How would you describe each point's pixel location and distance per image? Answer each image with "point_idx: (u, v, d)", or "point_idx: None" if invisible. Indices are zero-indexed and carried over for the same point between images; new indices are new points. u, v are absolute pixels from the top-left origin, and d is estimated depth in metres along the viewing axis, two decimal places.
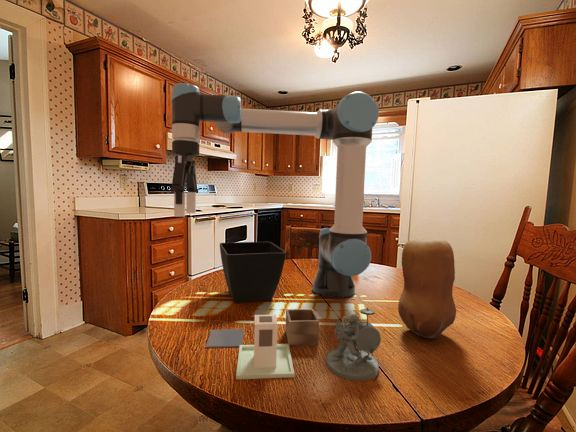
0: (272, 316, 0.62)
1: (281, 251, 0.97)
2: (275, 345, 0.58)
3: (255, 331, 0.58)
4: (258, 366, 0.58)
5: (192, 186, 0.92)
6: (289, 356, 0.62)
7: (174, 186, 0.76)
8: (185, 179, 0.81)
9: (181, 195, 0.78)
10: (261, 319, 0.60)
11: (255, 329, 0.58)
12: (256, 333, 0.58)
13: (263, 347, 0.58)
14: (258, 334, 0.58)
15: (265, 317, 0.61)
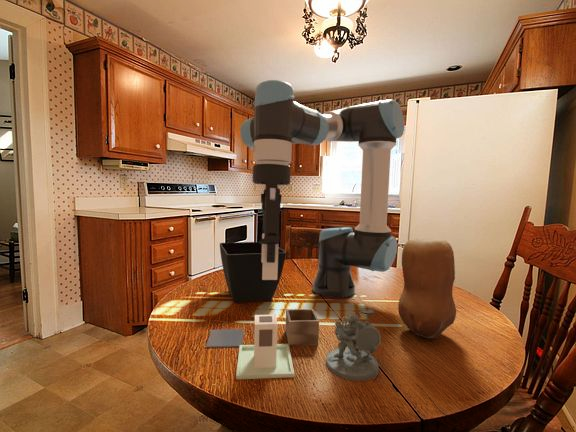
0: (272, 316, 0.62)
1: (281, 251, 0.97)
2: (275, 345, 0.58)
3: (255, 331, 0.58)
4: (258, 366, 0.58)
5: None
6: (289, 356, 0.62)
7: (269, 237, 0.49)
8: None
9: (275, 248, 0.52)
10: (261, 319, 0.60)
11: (255, 329, 0.58)
12: (256, 333, 0.58)
13: (263, 347, 0.58)
14: (258, 334, 0.58)
15: (265, 317, 0.61)
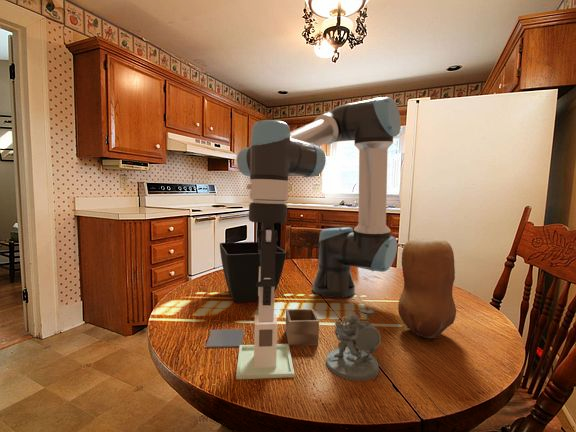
0: None
1: (281, 251, 0.97)
2: (275, 345, 0.58)
3: (255, 331, 0.58)
4: (258, 366, 0.58)
5: None
6: (289, 356, 0.62)
7: (264, 282, 0.49)
8: None
9: (271, 291, 0.52)
10: None
11: (255, 329, 0.58)
12: (256, 333, 0.58)
13: (263, 347, 0.58)
14: (258, 334, 0.58)
15: None
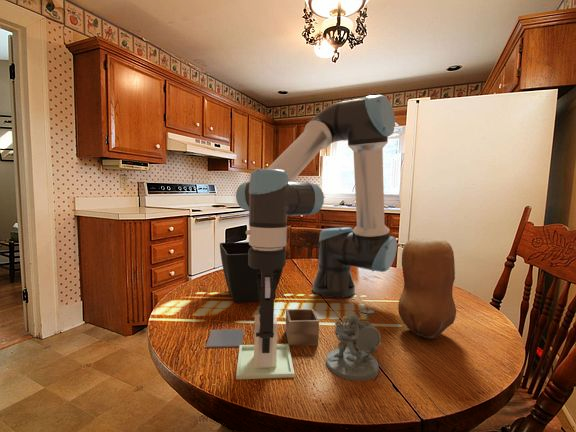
0: None
1: None
2: (275, 345, 0.58)
3: (255, 331, 0.58)
4: None
5: None
6: (289, 356, 0.62)
7: (263, 334, 0.54)
8: None
9: (269, 339, 0.57)
10: None
11: (255, 329, 0.58)
12: None
13: None
14: None
15: None
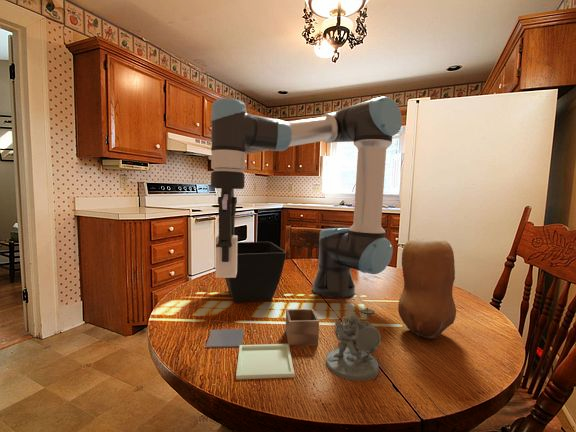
0: (233, 235, 0.69)
1: (281, 251, 0.97)
2: (234, 257, 0.66)
3: None
4: (219, 276, 0.66)
5: None
6: (289, 356, 0.62)
7: (222, 242, 0.62)
8: (231, 227, 0.65)
9: (228, 250, 0.64)
10: None
11: (216, 242, 0.66)
12: None
13: None
14: None
15: None
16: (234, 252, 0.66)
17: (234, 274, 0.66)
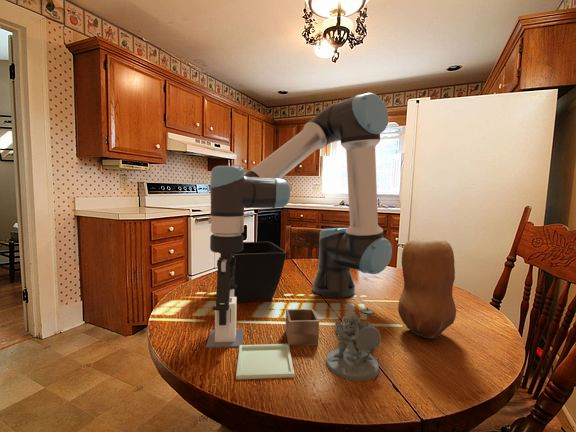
0: (232, 298, 0.71)
1: (281, 251, 0.97)
2: (233, 322, 0.67)
3: None
4: (219, 340, 0.67)
5: (231, 282, 0.74)
6: (289, 356, 0.62)
7: (219, 307, 0.60)
8: (229, 289, 0.64)
9: (226, 313, 0.62)
10: None
11: None
12: (216, 312, 0.67)
13: None
14: None
15: None
16: (233, 317, 0.67)
17: (233, 338, 0.68)
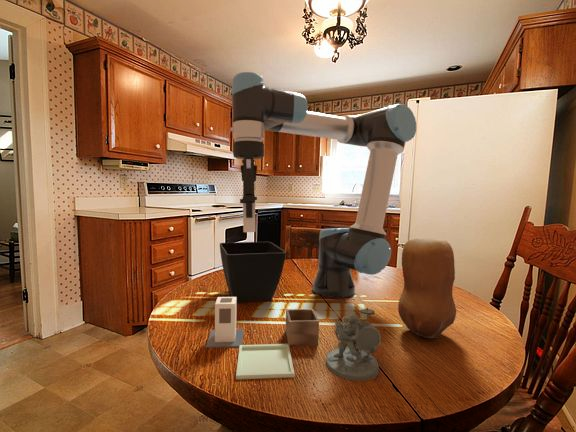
0: (232, 298, 0.71)
1: (281, 251, 0.97)
2: (233, 322, 0.67)
3: (216, 310, 0.67)
4: (219, 340, 0.67)
5: None
6: (289, 356, 0.62)
7: (246, 197, 0.63)
8: None
9: (252, 206, 0.66)
10: (222, 300, 0.69)
11: (216, 308, 0.67)
12: (216, 312, 0.67)
13: (223, 323, 0.67)
14: (218, 312, 0.67)
15: (226, 298, 0.70)
16: (233, 317, 0.67)
17: (233, 338, 0.68)
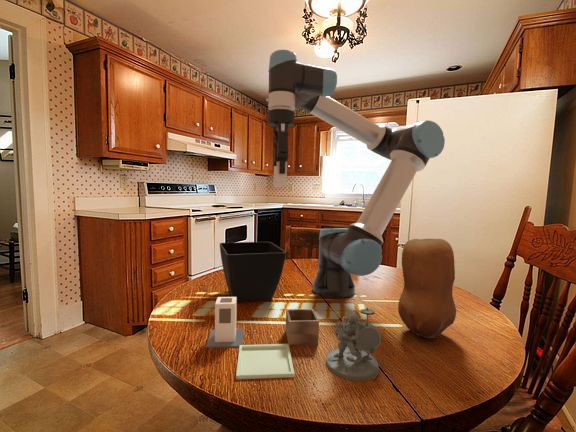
0: (232, 298, 0.71)
1: (281, 251, 0.97)
2: (233, 322, 0.67)
3: (216, 310, 0.67)
4: (219, 340, 0.67)
5: None
6: (289, 356, 0.62)
7: (281, 154, 0.73)
8: None
9: (285, 164, 0.76)
10: (222, 300, 0.69)
11: (216, 308, 0.67)
12: (216, 312, 0.67)
13: (223, 323, 0.67)
14: (218, 312, 0.67)
15: (226, 298, 0.70)
16: (233, 317, 0.67)
17: (233, 338, 0.68)
